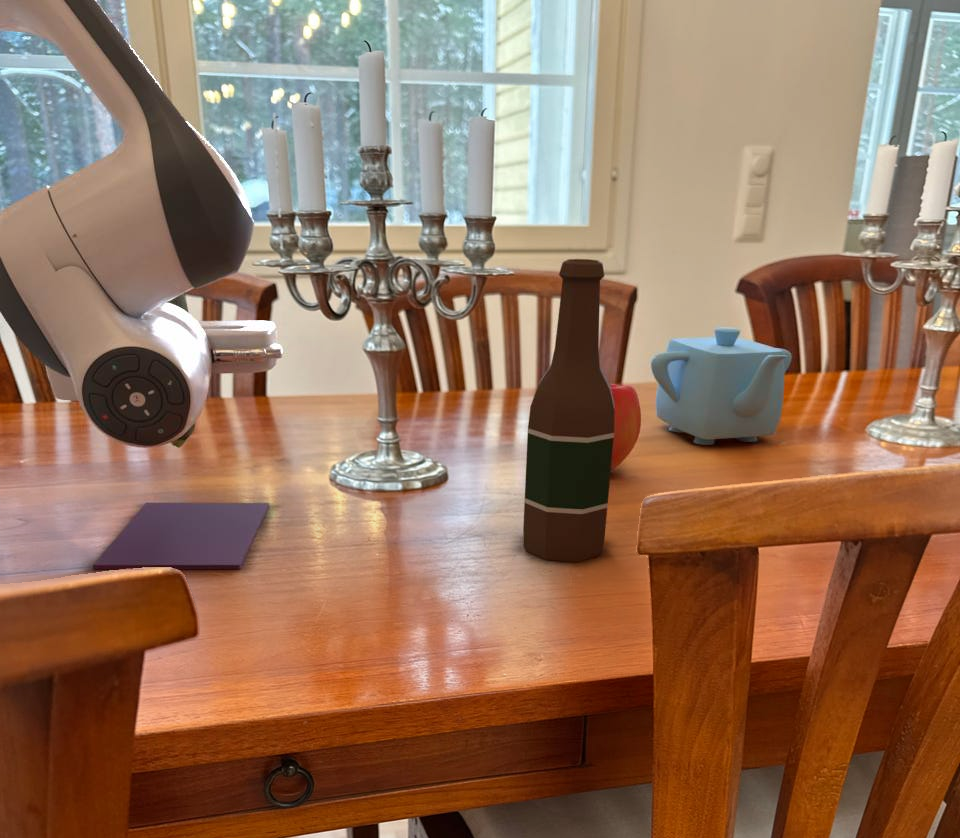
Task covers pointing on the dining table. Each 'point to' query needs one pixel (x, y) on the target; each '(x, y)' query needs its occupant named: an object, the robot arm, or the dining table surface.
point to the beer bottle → (571, 430)
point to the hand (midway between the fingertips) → (169, 333)
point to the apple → (625, 422)
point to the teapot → (720, 386)
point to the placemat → (186, 536)
